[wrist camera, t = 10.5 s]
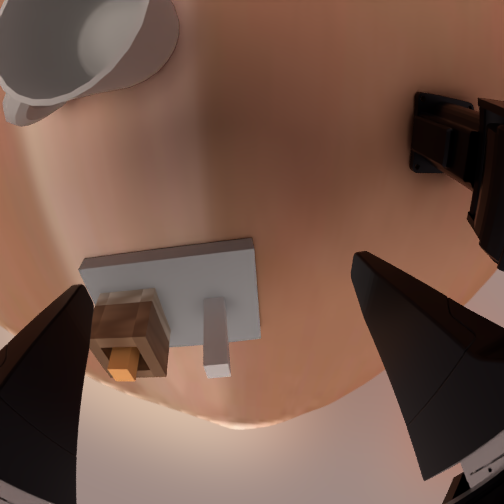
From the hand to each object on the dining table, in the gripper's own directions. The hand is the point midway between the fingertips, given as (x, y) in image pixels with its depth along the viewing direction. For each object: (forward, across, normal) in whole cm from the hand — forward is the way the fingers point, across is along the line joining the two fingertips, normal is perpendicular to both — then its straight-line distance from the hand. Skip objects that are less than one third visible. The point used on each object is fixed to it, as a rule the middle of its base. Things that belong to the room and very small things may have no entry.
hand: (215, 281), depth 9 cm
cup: (+12, +6, -9) cm, 16 cm away
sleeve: (+10, +8, +11) cm, 17 cm away
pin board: (+12, +5, +11) cm, 17 cm away
